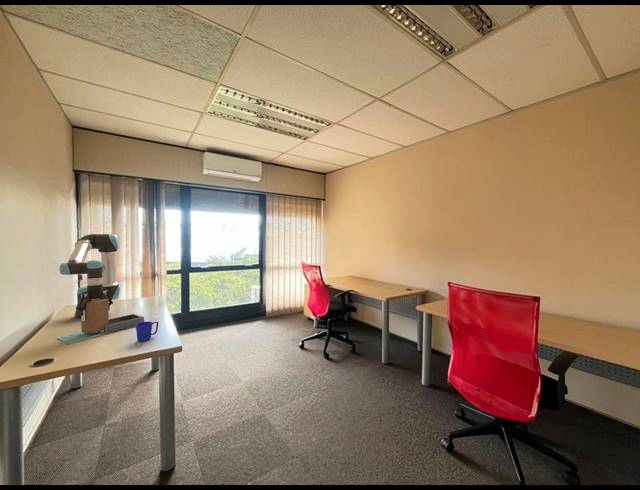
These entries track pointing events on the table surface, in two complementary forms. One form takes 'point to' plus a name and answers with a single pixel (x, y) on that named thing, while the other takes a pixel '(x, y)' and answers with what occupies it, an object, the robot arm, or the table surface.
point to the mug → (145, 330)
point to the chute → (122, 323)
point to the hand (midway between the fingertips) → (95, 318)
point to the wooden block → (95, 315)
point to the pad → (78, 337)
